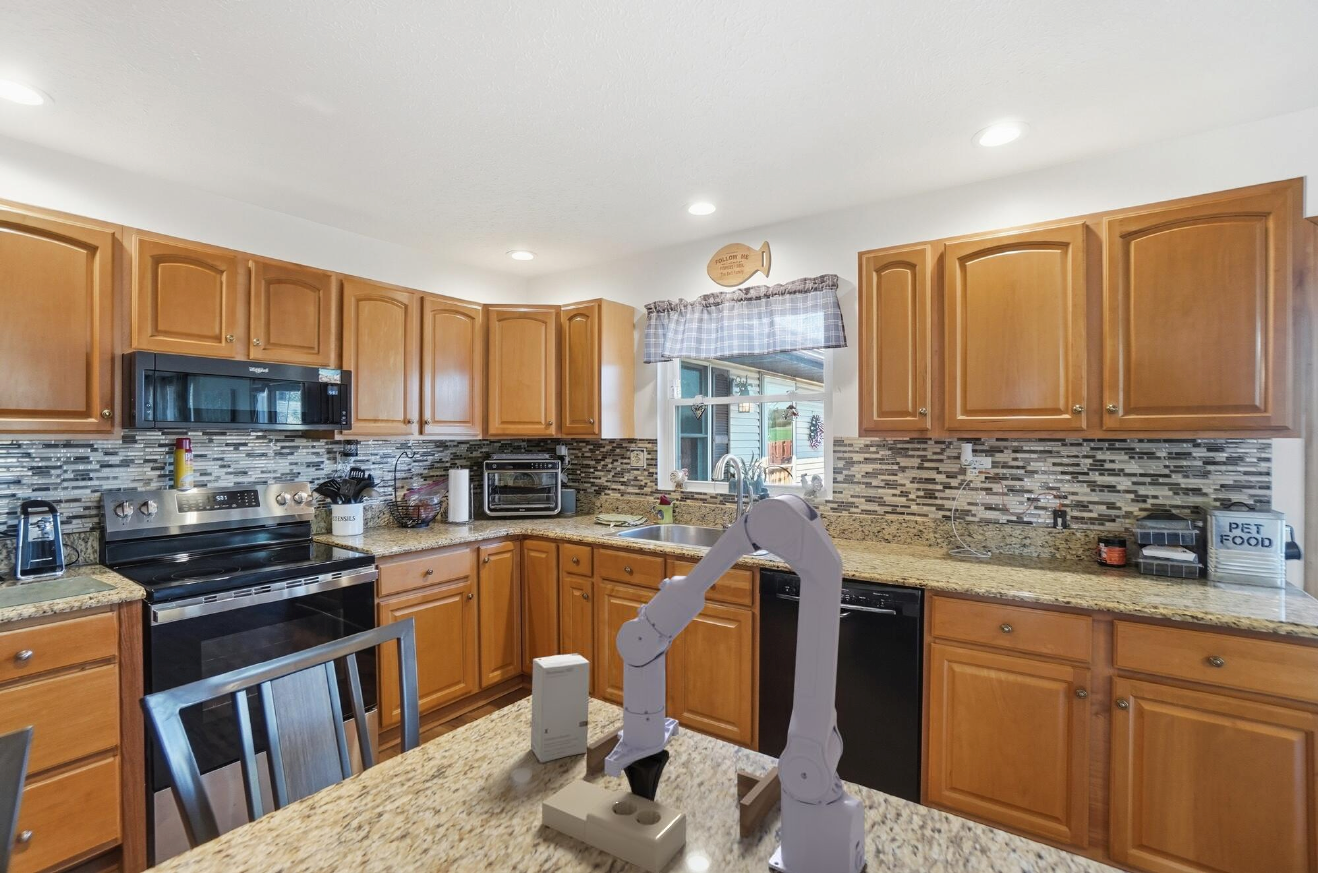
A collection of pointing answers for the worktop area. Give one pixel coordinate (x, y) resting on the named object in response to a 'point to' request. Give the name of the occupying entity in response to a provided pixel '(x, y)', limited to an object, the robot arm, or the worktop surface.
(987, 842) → the worktop surface
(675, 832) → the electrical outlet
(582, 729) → the skincare box
